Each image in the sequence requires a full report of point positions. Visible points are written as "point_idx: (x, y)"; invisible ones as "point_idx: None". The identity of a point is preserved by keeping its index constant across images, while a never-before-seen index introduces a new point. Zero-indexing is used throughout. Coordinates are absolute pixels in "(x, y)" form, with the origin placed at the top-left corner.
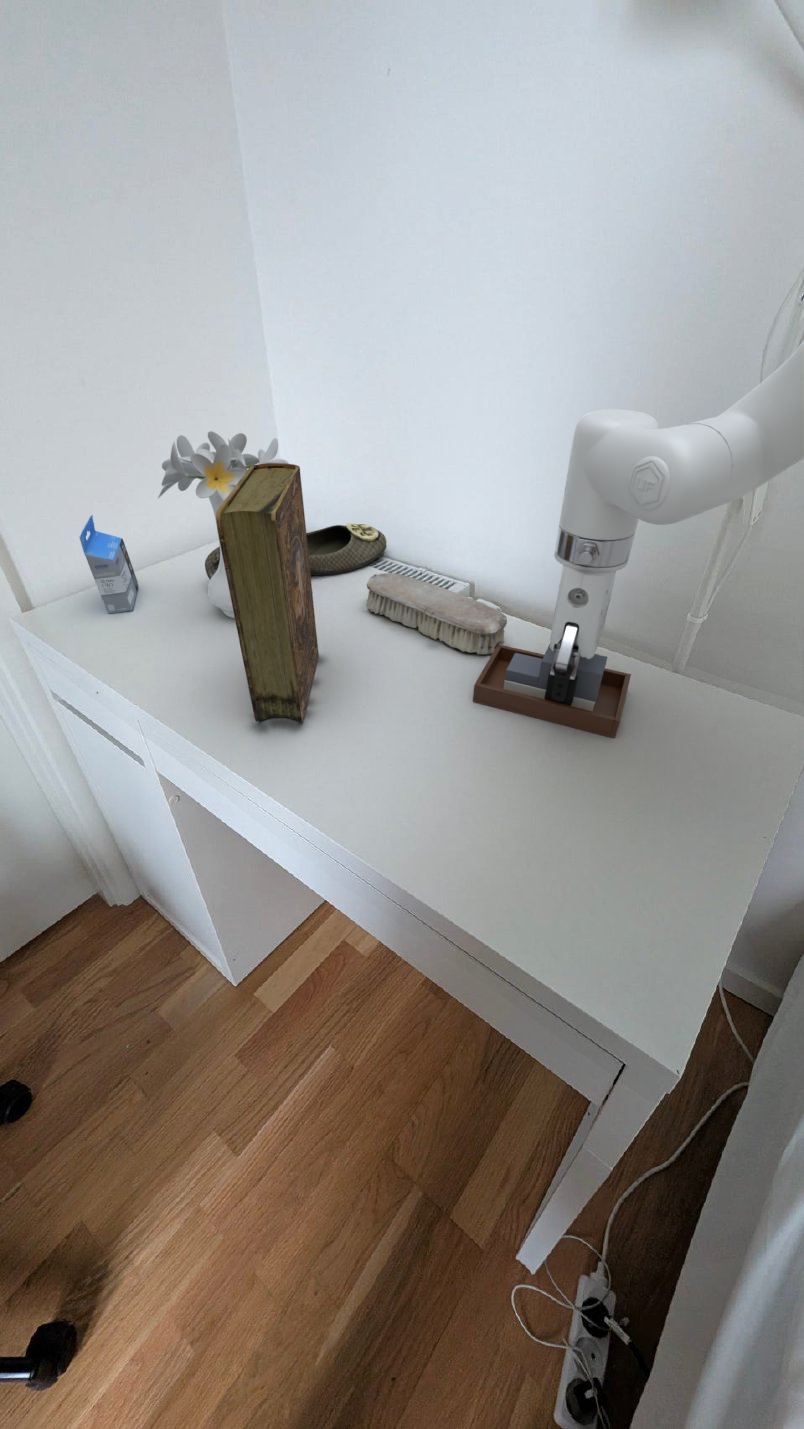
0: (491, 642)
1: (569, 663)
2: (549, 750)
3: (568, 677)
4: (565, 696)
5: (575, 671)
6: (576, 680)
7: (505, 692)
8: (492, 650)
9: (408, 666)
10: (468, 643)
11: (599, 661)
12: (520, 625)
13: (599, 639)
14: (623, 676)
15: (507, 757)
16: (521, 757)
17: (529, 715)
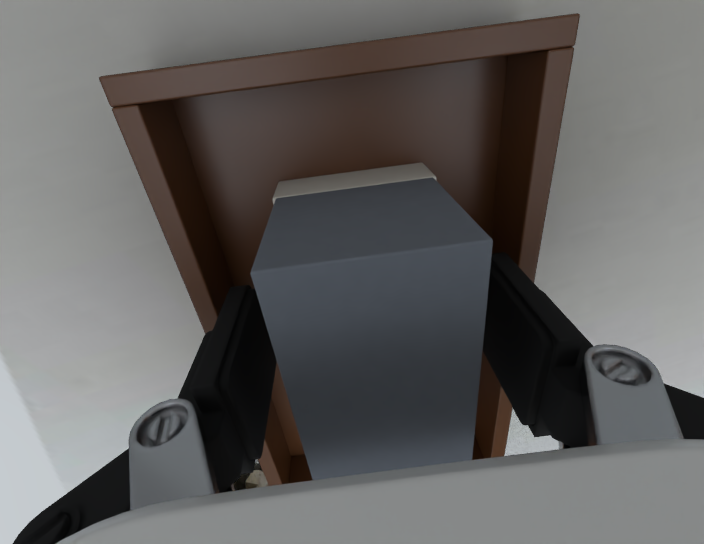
0: None
1: (440, 400)
2: (635, 219)
3: (677, 390)
4: (550, 300)
5: (666, 396)
6: (576, 330)
7: (509, 420)
8: (266, 481)
9: None
10: None
11: (342, 296)
12: (69, 473)
13: (527, 538)
14: (143, 112)
15: (679, 297)
16: (676, 271)
17: None
